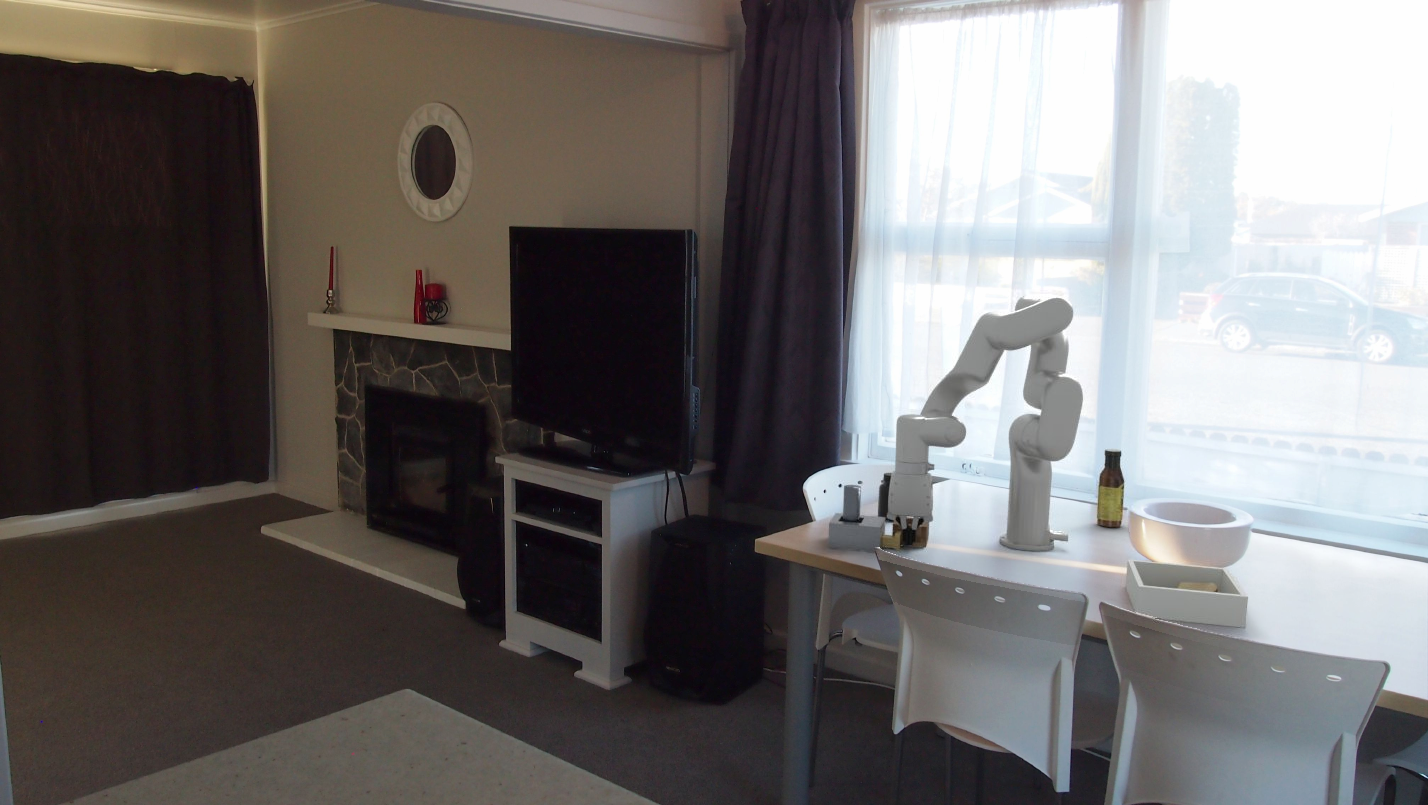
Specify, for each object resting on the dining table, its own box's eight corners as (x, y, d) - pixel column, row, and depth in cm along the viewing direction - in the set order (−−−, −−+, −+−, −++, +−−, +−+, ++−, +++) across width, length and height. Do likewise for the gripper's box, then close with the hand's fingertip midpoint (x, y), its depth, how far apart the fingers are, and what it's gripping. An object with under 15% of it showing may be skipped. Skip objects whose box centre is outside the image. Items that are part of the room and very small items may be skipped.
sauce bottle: (1125, 528, 262) (1131, 452, 260) (1101, 528, 262) (1106, 452, 260) (1116, 522, 269) (1121, 448, 266) (1092, 521, 269) (1097, 447, 266)
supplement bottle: (896, 523, 263) (898, 478, 262) (872, 519, 267) (874, 474, 266) (908, 518, 269) (910, 474, 267) (885, 514, 273) (887, 470, 271)
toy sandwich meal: (1155, 591, 212) (1157, 569, 212) (1225, 605, 204) (1227, 583, 203) (1137, 606, 203) (1138, 583, 202) (1210, 622, 194) (1212, 598, 194)
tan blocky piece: (900, 546, 242) (901, 531, 241) (899, 550, 238) (900, 535, 238) (862, 542, 244) (862, 528, 244) (860, 546, 241) (860, 531, 240)
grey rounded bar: (859, 542, 245) (862, 485, 243) (857, 547, 241) (859, 489, 239) (843, 541, 246) (845, 484, 244) (840, 545, 242) (842, 487, 240)
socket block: (884, 541, 246) (885, 517, 245) (879, 552, 236) (880, 527, 236) (835, 537, 249) (835, 513, 248) (828, 547, 240) (829, 522, 239)
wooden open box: (928, 539, 249) (929, 519, 248) (925, 547, 241) (926, 527, 241) (895, 536, 251) (896, 516, 250) (891, 544, 243) (892, 524, 243)
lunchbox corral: (1224, 596, 209) (1227, 568, 208) (1245, 627, 191) (1248, 597, 190) (1125, 587, 214) (1127, 559, 213) (1136, 616, 196) (1138, 586, 195)
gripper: (945, 466, 238) (942, 542, 241) (880, 463, 242) (878, 538, 245) (943, 473, 231) (940, 551, 234) (877, 469, 235) (875, 546, 238)
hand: (908, 544), depth 239 cm, fingers closed
